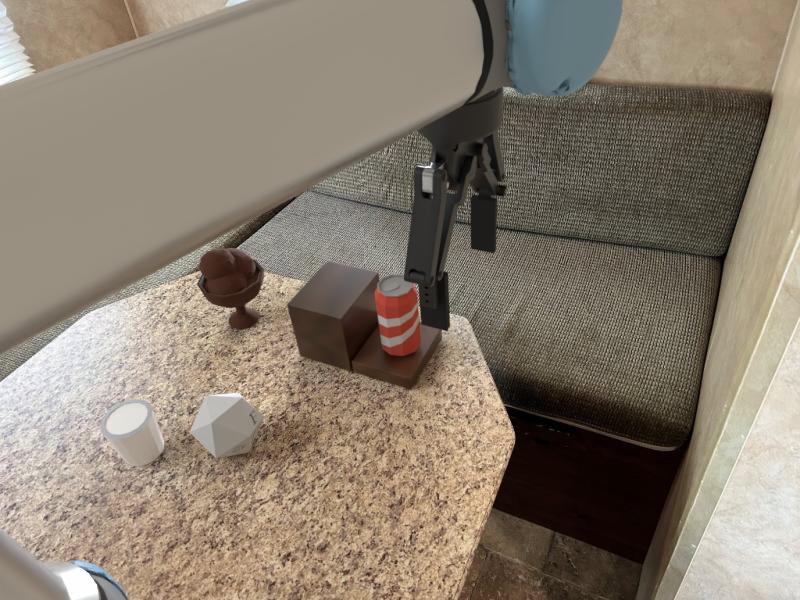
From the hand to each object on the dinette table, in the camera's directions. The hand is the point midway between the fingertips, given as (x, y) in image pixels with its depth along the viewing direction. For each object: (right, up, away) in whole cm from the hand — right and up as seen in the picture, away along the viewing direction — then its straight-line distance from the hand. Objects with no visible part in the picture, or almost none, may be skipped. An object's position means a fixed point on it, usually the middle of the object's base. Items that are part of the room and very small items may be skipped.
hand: (461, 285), depth 63 cm
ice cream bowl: (-34, -5, +44) cm, 56 cm away
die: (-30, -22, +23) cm, 43 cm away
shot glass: (-43, -23, +23) cm, 54 cm away
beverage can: (-6, -9, +32) cm, 34 cm away
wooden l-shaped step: (-11, -9, +35) cm, 38 cm away
